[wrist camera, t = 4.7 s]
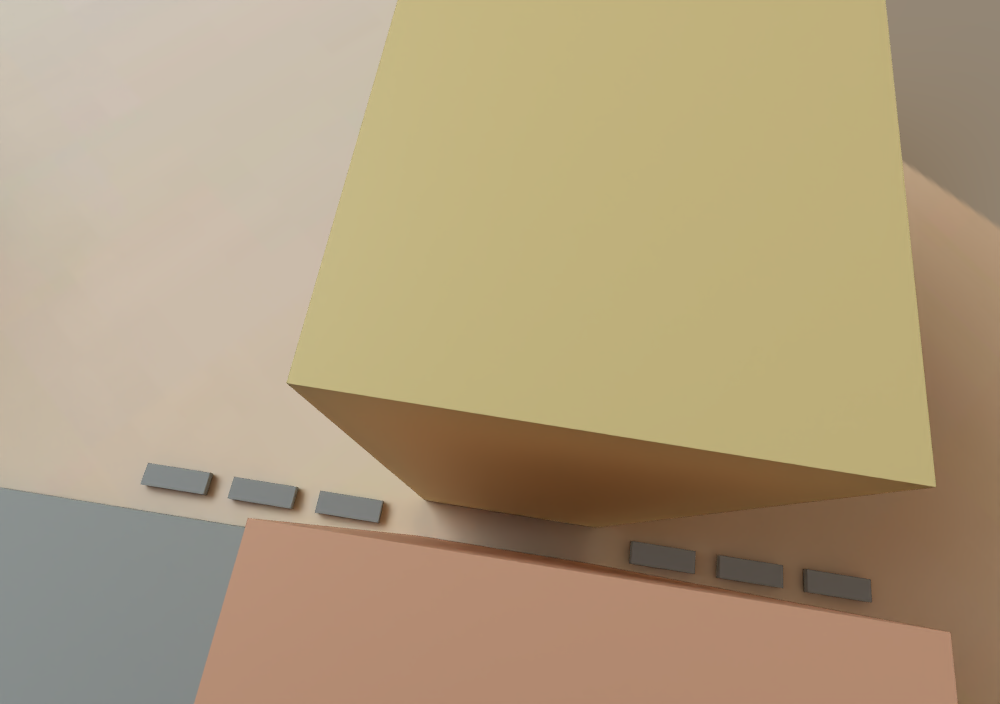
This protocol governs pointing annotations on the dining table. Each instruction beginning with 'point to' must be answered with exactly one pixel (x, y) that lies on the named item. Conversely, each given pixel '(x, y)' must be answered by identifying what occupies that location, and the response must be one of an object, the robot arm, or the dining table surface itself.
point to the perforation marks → (638, 551)
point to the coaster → (107, 601)
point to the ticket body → (626, 261)
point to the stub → (533, 632)
